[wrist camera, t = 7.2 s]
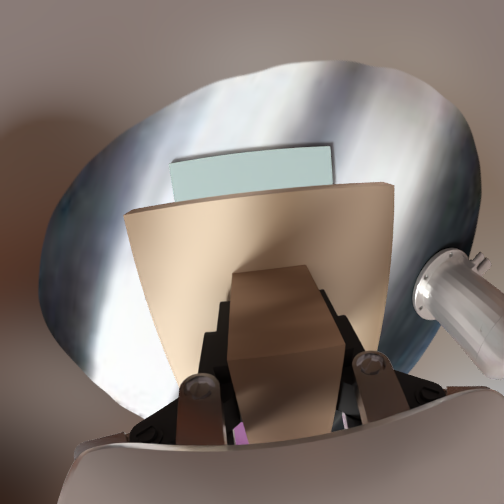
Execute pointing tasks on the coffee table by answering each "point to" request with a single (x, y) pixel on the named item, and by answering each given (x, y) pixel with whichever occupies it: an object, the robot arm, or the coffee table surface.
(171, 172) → the mat
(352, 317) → the lid
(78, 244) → the coffee table surface
